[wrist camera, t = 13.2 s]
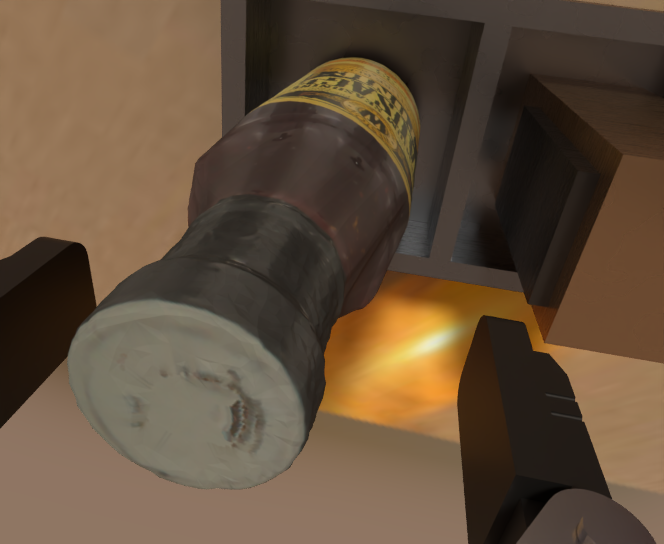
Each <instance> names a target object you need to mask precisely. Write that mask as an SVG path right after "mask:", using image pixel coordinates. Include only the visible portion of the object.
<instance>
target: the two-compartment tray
mask: <svg viewBox="0 0 664 544" xmlns="http://www.w3.org/2000/svg"><path fill="white" fill-rule="evenodd" d="M349 57H356V58H365V59H370V60H372V61H375V62H377V63H379V64H382V65H384V66H385V67H387V68H389V69H390V70H391V71H394V72H395V73H396V74H397V75H398V76H399V77H400V79H401V80H402V81H403V82H404V84H405V85H406V86H407V88H408V89H409V91H410V93H411V94H412V96H413V98H414V101H415V103H416V106H417V109H418V113H419V119H420V137H419V145H418V155H417V162H416V170H415V179H414V188H413V193H412V202H411V209H410V215H409V220H408V224H407V227H406V230H405V232H404V235H403V237H402V239H401V241H400V243H399V245H398V248H397V250H396V252H395V254H394V256H393V258H392V260H391V263H390V265H389V267H388V269H387V270H390V271H396V272H402V273H409V274H415V275H421V276H427V277H433V278H439V279H445V280H451V281H457V282H463V283H469V284H475V285H481V286H487V287H493V288H499V289H505V290H512V291H518V292H524V294H525V297H526V300H527V303H528V304H530V305H531V306H532V308H533V311H534V314H535V317H536V320H537V323H538V326H539V329H540V332H541V335H542V337H543V340H544V343H548V344H554V345H560V346H565V347H571V348H577V349H583V350H589V351H595V352H600V353H606V354H612V355H618V356H624V357H630V358H635V359H641V360H647V361H653V362H659V363H664V11H656V10H647V9H639V8H631V7H623V6H615V5H607V4H599V3H591V2H583V1H574V0H221V65H222V137H223V136H224V135H225V134H227V133H228V132H229V131H230V130H231V129H232V128H233V127H234V126H235V125H236V124H237V123H239V122H240V121H241V120H242V119H243V118H244V117H245V116H246V115H247V114H248V113H250V112H251V111H253V110H254V109H256V108H257V107H259V106H260V105H262V104H263V103H265V102H266V101H268V100H269V99H271V98H273V97H274V96H276V95H277V94H278V93H280V92H281V91H283V90H284V89H285V88H287V87H288V86H290V85H292V84H293V83H295V82H296V81H298V80H299V79H301V78H302V77H304V76H305V75H307V74H308V73H309V72H311V71H312V70H314V69H315V68H317V67H318V66H320V65H322V64H324V63H326V62H329V61H332V60H336V59H340V58H349Z"/></svg>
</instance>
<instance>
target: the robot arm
mask: <svg viewBox="0 0 664 544" xmlns="http://www.w3.org/2000/svg"><path fill="white" fill-rule="evenodd" d="M96 308H97V307H96V300H95V294H94V288H93V283H92V277H91V271H90V265H89V259H88V254H87V251H86V249H85V247H84V246H83V245H82V244H80V243H77V242H71V241H66V240H60V239H54V238H49V237H39V238H37V239H35V240H34V241H32V242H31V243H29V244H28V245H26V246H25V247H23V248H22V249H20V250H19V251H18V252H16V253H15V254H13V255H12V256H10V257H7V258H5V259H2V260H0V428H1V427H2V426H3V425H4V424H5V423H6V422H7V421H8V420H9V419H10V418H11V417H12V415H13V414H14V413H15V412H16V411H17V410H18V409H19V408H20V407H21V406H22V405H23V404H24V403H25V401H26V400H27V399H28V398H29V397H30V396H31V395H32V394H33V393H34V392H35V391H36V390H37V389H38V388H39V386H40V385H41V384H42V383H43V382H44V381H45V380H46V379H47V378H48V377H49V376H50V375H51V374H52V372H53V371H54V370H55V369H56V368H57V367H58V366H59V365H60V364H61V363H62V362H63V361H64V360H65V359H66V358H67V356H68V352H69V348H70V345H71V341H72V339H73V337H74V336H75V334H76V331H77V328H78V327H79V326H80V325H81V323H82V322H83V321H84V320H85V319H86V318H87V317H88V316H89V315H90V314H91V313H92V312H93V311H94V310H95V309H96ZM457 407H458V420H459V433H460V445H461V457H462V470H463V482H464V495H465V508H466V520H467V533H468V544H656V542H655V541H654V539H653V537H652V536H651V534H650V533H649V531H648V530H647V529H646V527H645V526H644V525H643V524H642V523H641V522H640V521H639V520H638V519H637V518H636V517H635V516H634V515H633V514H632V513H631V512H629V511H628V510H627V509H626V508H624V507H623V506H622V505H620V504H618V503H617V502H615V501H614V500H612V497H611V495H610V492H609V489H608V486H607V484H606V481H605V478H604V475H603V472H602V470H601V467H600V464H599V461H598V459H597V456H596V453H595V450H594V448H593V445H592V442H591V439H590V436H589V434H588V431H587V428H586V425H585V423H584V422H582V414H581V412H580V409H579V406H578V403H577V402H575V395H574V392H573V389H572V387H571V384H570V381H569V378H568V376H567V374H566V373H565V372H564V371H563V369H562V368H561V367H560V366H559V365H558V364H557V363H556V361H555V360H554V359H553V358H552V357H551V356H550V354H547V353H542V352H536V351H533V349H532V345H531V342H530V339H529V335H528V332H527V328H526V326H525V324H524V323H523V322H519V321H514V320H508V319H502V318H497V317H491V316H485V315H483V316H482V317H481V318H480V320H479V323H478V325H477V328H476V331H475V334H474V337H473V341H472V344H471V347H470V350H469V353H468V356H467V359H466V362H465V365H464V368H463V371H462V374H461V378H460V383H459V389H458V400H457Z"/></svg>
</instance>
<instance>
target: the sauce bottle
mask: <svg viewBox="0 0 664 544" xmlns="http://www.w3.org/2000/svg"><path fill="white" fill-rule="evenodd" d="M419 137H420V119H419V113H418V109H417V106H416V103H415V101H414V98H413V96H412V94H411V93H410V91H409V89H408V88H407V86H406V85H405V84H404V82H403V81H402V80H401V79H400V77H399V76H398V75H397V74H396V73H395V72H394V71H391V70H390V69H389V68H387V67H385V66H384V65H382V64H379V63H377V62H375V61H372V60H370V59H365V58H356V57H349V58H340V59H336V60H332V61H329V62H326V63H324V64H322V65H320V66H318V67H317V68H315V69H314V70H312V71H311V72H309V73H308V74H307V75H305V76H304V77H302V78H301V79H299V80H298V81H296V82H295V83H293V84H292V85H290V86H288V87H287V88H285V89H284V90H283V91H281V92H280V93H278V94H277V95H276V96H274V97H273V98H271V99H269V100H268V101H266V102H265V103H263V104H262V105H260V106H259V107H257V108H256V109H254V110H253V111H251V112H250V113H248V114H247V115H246V116H245V117H244V118H243V119H242V120H241V121H240V122H239V123H237V124H236V125H235V126H234V127H233V128H232V129H231V130H230V131H229V132H228V133H227V134H225V135H224V136H223V137H222V138H221V139H220V140H219V141H218V142H217V143H216V144H215V145H213V146H212V147H211V148H210V149H209V150H208V151H207V152H206V153H205V154H203V155H202V156H201V157H200V158H199V159H198V160H197V162H196V163H195V169H194V176H193V182H192V188H191V193H190V198H189V205H188V226H189V228H188V229H187V231H186V232H185V234H184V235H183V237H182V239H181V240H180V241H179V242H178V243H177V244H176V245H175V246H174V247H172V248H171V249H170V250H169V252H168V253H167V254H166V255H165V256H164V257H163V258H162V259H161V260H160V261H156V262H154V263H151V264H149V265H146V266H144V267H142V268H141V269H139V270H138V271H136V272H135V273H133V274H131V275H130V276H129V277H127V278H126V279H125V280H123V281H122V282H121V283H119V284H118V285H117V286H116V288H115V289H114V290H113V291H112V292H111V293H110V294H109V295H108V296H107V297H106V298H105V299H104V300H103V301H102V302H101V303H100V304H99V305H98V306H97V308H96V309H95V310H94V311H93V312H92V313H91V314H90V315H89V316H88V317H87V318H86V319H85V320H84V321H83V322H82V323H81V325H80V326H79V327H78V328H77V331H76V334H75V336H74V337H73V339H72V341H71V345H70V348H69V352H68V363H67V365H68V371H69V384H70V386H71V388H72V391H73V393H74V395H75V397H76V401H77V406H78V407H79V409H80V410H81V412H82V413H83V414H84V416H85V417H86V419H87V420H88V422H89V423H90V425H91V426H92V428H93V429H94V430H95V431H96V432H97V433H98V434H99V435H100V436H101V437H102V438H103V439H104V440H105V441H106V442H107V443H108V444H109V445H110V446H112V447H113V448H114V449H115V450H116V451H117V452H118V453H119V454H121V455H122V456H124V457H126V458H127V459H129V460H130V461H132V462H134V463H135V464H137V465H139V466H141V467H143V468H145V469H147V470H149V471H151V472H153V473H154V474H156V475H157V476H158V477H160V478H163V479H166V480H169V481H171V482H175V483H178V484H181V485H184V486H189V487H194V488H198V489H214V488H221V489H245V488H251V487H254V486H257V485H260V484H262V483H265V482H267V481H269V480H271V479H273V478H274V477H276V476H277V475H279V474H281V473H282V472H284V471H286V470H287V469H288V468H290V466H291V465H292V463H293V461H294V460H295V458H296V457H297V456H298V455H299V453H300V452H301V451H302V449H303V447H304V446H305V444H306V441H307V440H308V436H309V432H310V430H311V428H312V426H313V423H314V421H315V417H316V413H317V411H318V408H319V406H320V403H321V401H322V399H323V395H324V390H325V385H326V381H325V376H324V368H325V359H324V352H325V349H326V345H327V342H328V340H329V339H330V333H331V328H332V326H333V325H334V324H335V322H336V321H337V319H338V318H340V317H342V316H344V315H346V314H348V313H350V312H352V311H355V310H358V309H362V308H364V307H365V306H366V305H367V304H368V303H370V301H371V300H372V299H373V298H374V296H375V295H376V293H377V291H378V289H379V287H380V285H381V282H382V280H383V278H384V276H385V273H386V271H387V269H388V267H389V265H390V263H391V260H392V258H393V256H394V254H395V252H396V250H397V248H398V245H399V243H400V241H401V239H402V237H403V235H404V232H405V230H406V227H407V224H408V220H409V215H410V209H411V202H412V193H413V188H414V179H415V170H416V162H417V155H418V145H419Z"/></svg>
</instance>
